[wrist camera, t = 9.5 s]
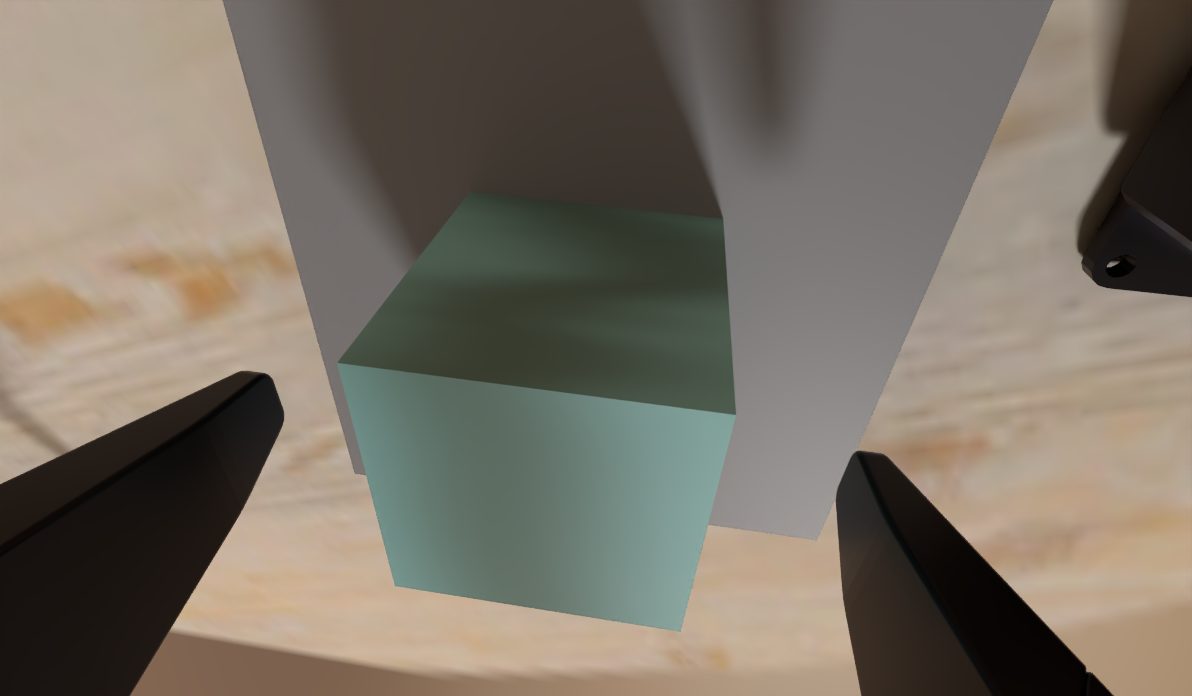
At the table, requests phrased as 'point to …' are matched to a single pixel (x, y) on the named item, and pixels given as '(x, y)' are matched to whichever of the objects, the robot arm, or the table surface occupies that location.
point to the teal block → (550, 407)
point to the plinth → (654, 171)
